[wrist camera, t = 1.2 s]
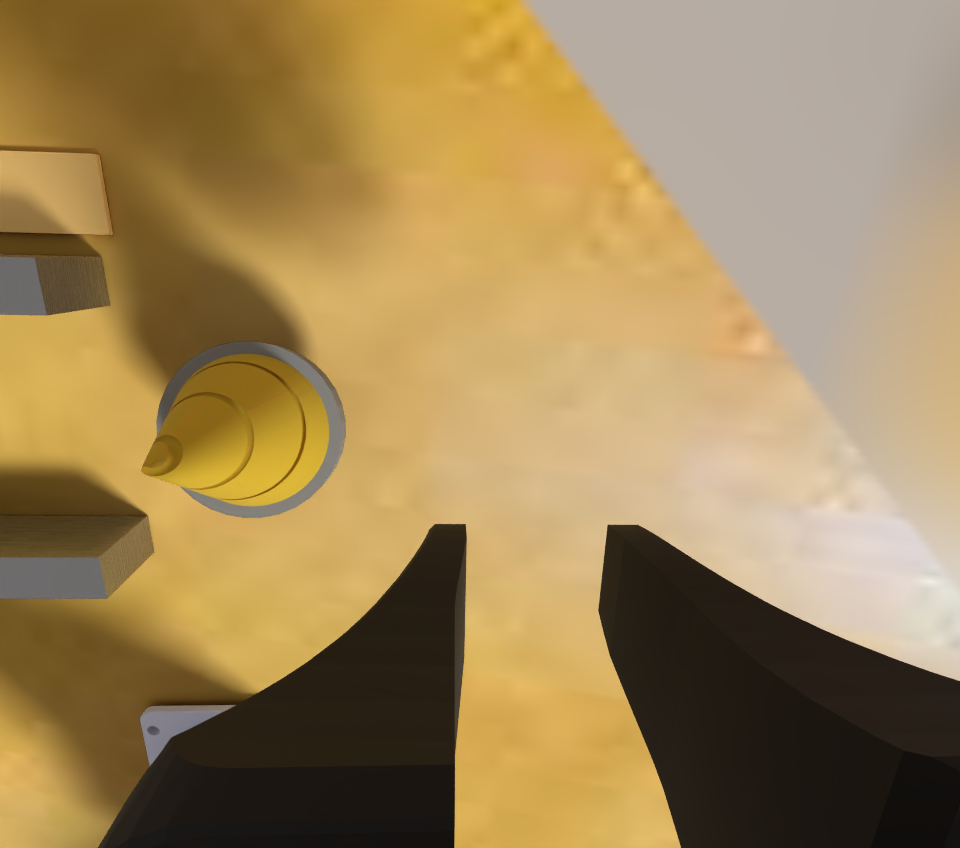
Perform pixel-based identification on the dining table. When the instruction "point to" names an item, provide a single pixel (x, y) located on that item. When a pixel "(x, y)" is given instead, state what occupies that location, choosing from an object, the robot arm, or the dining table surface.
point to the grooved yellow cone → (248, 429)
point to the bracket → (63, 539)
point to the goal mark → (53, 193)
